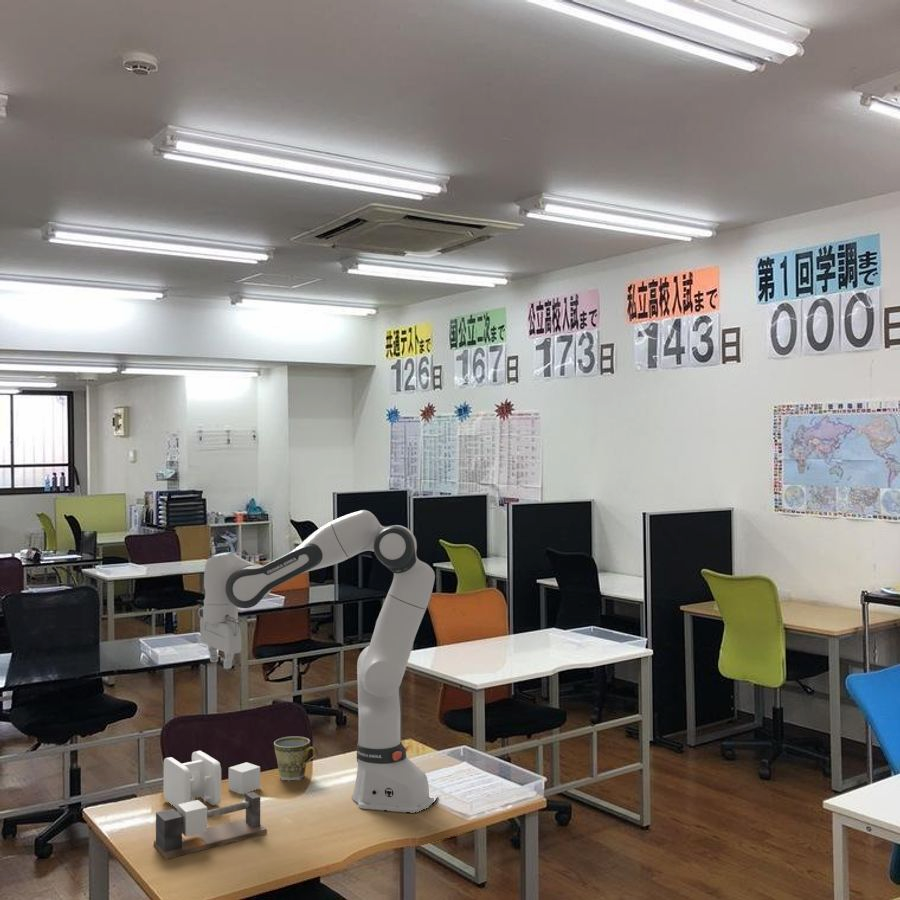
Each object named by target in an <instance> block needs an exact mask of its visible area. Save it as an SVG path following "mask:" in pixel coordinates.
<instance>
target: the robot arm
mask: <svg viewBox="0 0 900 900" xmlns="http://www.w3.org/2000/svg"><path fill="white" fill-rule="evenodd" d="M417 550H418V541H417V538H416V536H415V535H414V533H413V532H412V530H410V529H409V528H407V527H405V526H403V525H398V524H395V525H382V524H381V523H380V521H379V520H378V518H377V517H376V516H375V514H373V513H372V512H371V511H369V510H366V509H362V510H361V509H360V510H358V511H357V510H356V511H354V512H350V513H348V514H345V515H343V516H339V517H338V518H336V519H333V520H331V521H329V522H327V523H326V524H323V525H322V526H321V527H319V528H318V529H316V530H315V531H313V532H312V533H311V534H309V535H308V537H306V538H305V539H304V540H303V541H302V542H300V544H299V545H298V546H296V547H295V548H294V549H292V550H291V551H290V552H288V553H286V554H284V555H282V556H280V557H278V558H276V559H274V560H272V561H270V562H268V563H266V564H264V565H262V564H258V563H254V562H252V561H248V560H247V559H244V558H242V557H240V556H239V555H238V554H237V553H236V552H232V551H227V552H221V553H217V554H213V555H211V556H210V557H208V558H207V559H206V562H205V566H204V575H203V577H204V578H203V588H204V592H205V596H204V600H203V607H201V608H199V609H198V617H199V618H200V620H199V630H200V631H199V632H200V639H201V642H202V643H203V644H205V645H207V649H208V653H209V661H210V662H211V663H218V662H219V654H218V651H217V650H219V651H221V652H223V653H224V660H223V664H222V665H223V667H222V668H224V669H226V670H229V669H231V668H233V660H234V657H235V654H240V653H241V651H242V647H243V646H242V633H241V632H242V631H241V627H240V624H238V622H236V621H237V620H238V617H239V608H240V609H250V608H252V607H255V606H256V605H258V604H259V603H260V602H261V601H262V600H263V599H265V598H266V597H267V596H268V595H269V594H270V593H271V591H272V590H273V589H274V588H276V587H278V586H280V585H282V584H284V583H285V582H288V581H290V580H291V579H294V578H295V577H297V576H299V575H302V574H305V573H308V572H310V571H315V570H319V569H323V568H327V567H330V566H335V565H337V564H339V563H342V562H345V561H346V560H348V559H351V558H353V557H354V556H356V555H358V554H360V553H363V552H367V551H368V552H369V551H370V552H374V555H375V557H376V558H377V560H378V561H379V562H380V563H381V564H382V565H383V566H385V567H386V568H387V569H389V570H390V571H391V572H392V573H393V578H392V582H391V585H390V587H389V590H388V592H387V595H386V597H385V599H384V602H383V605H382V607H381V610H380V611H379V615H378V617H377V619H376V621H375V626H374V630H373V633H372V635H371V640H370V643H369V645H368V646H366V647H365V648H363V650H362V651H361V652H360V654H359V656H358V658H357V663H356V667H357V668H356V670H357V671H356V674H357V675H356V676H357V679H356V681H357V706H358V707H357V708H358V709H357V710H358V714H357V715H358V741H357V744H356V761H357V771H356V777H355V783H354V788H353V792H352V795H351V796H352V797H351V798H352V800H353V801H354V802H355V803H356V804H357V805H358V806H357V807H358V808H359V809H365V810H373V811H374V810H376V811H384V810H387V812H396V813H406V812H410V813H409V814H416V813H419V811H420V812H422V811H421V810H423V809H425V810H427V809H428V808H430V807H431V806H432V805H431V804H432V803H433V801H434V798H430V797H429V790H430V788H429V787H430V786H429V781H428V777H427V775H426V773H425V772H424V771H423V769H420V767H418V766H417V765H416V764H415V763H414V762H412V760H410V759H409V758H408V757H407V752H408V751H410V745H407V746H404V744H403V742H402V741H401V707H400V694H399V693H400V692H399V691H400V686H401V684H402V680H403V677H404V675H405V673H406V670H407V666H408V662H409V659H410V656H411V653H412V649H413V645H414V642H415V639H416V635H417V633H418V630H419V629H420V628H419V627H420V625H421V623H422V620H423V618H424V615H425V613H426V611H427V608H428V605H429V603H430V599H431V596H432V593H433V588H434V584H435V578H436V574H435V571H434V570H433V569H434V568H432V567H431V565H429V564H428V563H426V562H424V561H422V560H420V559H419V558H418V556H417ZM430 805H431V806H430ZM429 806H430V807H429ZM426 808H427V809H426ZM423 811H424V810H423ZM415 812H416V813H415Z"/></svg>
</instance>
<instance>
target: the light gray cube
mask: <svg viewBox="0 0 900 900" xmlns="http://www.w3.org/2000/svg"><path fill="white" fill-rule="evenodd" d="M259 788H260V789H261V766H260V765H256V764H253V763H250V762H246V761H245V762H243V763H240V764H236V765H233V766H230V767H228V790H229V791H231V790H232V791H231V792H233V791H234V793H236V792H237V794H239V793H240V794H239V795H241V794H243V795H245V794H244V793H246V794H247V792H249V793H251V792H250V791H252V792H254V791H253V790H255V791H257V790H256V789H258V790H260V789H259Z"/></svg>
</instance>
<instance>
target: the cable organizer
mask: <svg viewBox="0 0 900 900" xmlns="http://www.w3.org/2000/svg"><path fill="white" fill-rule="evenodd" d="M163 796H164V799H165V801H166V802H167V803H168V802H169V803H170V804H171V805H170V804H169V803H168V804H169V805H170V806H172V805H173V806H172V807H174V808H175V809H177V804H182V803H186V802H191V801H195V799H196V798H199V797H200V799H203V802H204V803H206V802H207V803H208V802H209V803H210V804H209V803H208V804H209V805H211V806H212V805H213V806H216V805H219V804H220V803H221V801H222V767H221V763H220V761H219V760H217V759H215V758H214V757H212V756H210V755H209V754H207V753H206V752H203V751H202V750H197V751H193V752H192V754H191V761H187V762H184V763H183V762H182V763H181V762H180V761H178V760H177V759H175V758H174V757H171V756H170V757H166V758H164V760H163Z"/></svg>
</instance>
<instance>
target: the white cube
mask: <svg viewBox="0 0 900 900" xmlns="http://www.w3.org/2000/svg"><path fill="white" fill-rule="evenodd" d="M190 801H191V800H190ZM176 809H177V810H176V812H177V813H178V814H180V815H181V816H183V824H182V834H183V835H185V836H186V837H187V836H191V835H195V834H199V833H203V832H207V828H208V818H207V811H208V807H207V806H206V805H205V803H203V802H202V801H201V800H199V799H197V800H196V799H194V801H191V802H186V803H182V804H177V808H176Z"/></svg>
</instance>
